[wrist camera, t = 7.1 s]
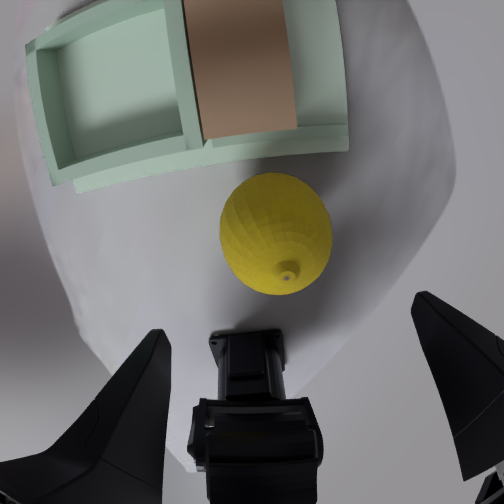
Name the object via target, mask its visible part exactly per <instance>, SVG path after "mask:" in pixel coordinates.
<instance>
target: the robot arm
mask: <svg viewBox="0 0 504 504" xmlns="http://www.w3.org/2000/svg"><path fill="white" fill-rule="evenodd" d="M411 315H412V318H413V321H414V325H415V328H416V330H417V334H418V337H419V340H420V344H421V347H422V350H423V352H424V355H425V357H426V360H427V362H428V365H429V367H430V370H431V372H432V375H433V378H434V380H435V383H436V386H437V388H438V391H439V394H440V397H441V400H442V403H443V406H444V409H445V412H446V415H447V419H448V422H449V425H450V429H451V432H452V436H453V438H454V439H453V440H454V444H455V447H456V451H457V455H458V459H459V464H460V468H461V472H462V477H463V481H466V480H469V479H471V478H473V477H475V476H476V475H479V474H481V473H482V472H484V471H486V470H488V469H490V468H492V467H493V466H495V467H496V470H495V471H494V472H492V473H491V474H490V475H488V476H487V477H486V478H485V480H484V483H483V485H482V488H481V490H480V492H479V494H478V497H477V499H476V501H475V504H504V340H502V339H501V338H500V337H498V336H495V334H494V333H492V332H491V331H489V330H488V329H486V328H485V327H483V326H482V325H480V324H478V323H477V322H475V321H474V320H473V319H471V318H469V317H468V316H466V315H465V314H463V313H462V312H460V311H459V310H457V309H455V308H454V307H452V306H451V305H449V304H447V303H446V302H444V301H443V300H441V299H439V298H438V297H436V296H434V295H433V294H431V293H429V292H428V291H421V292H418V293H416V295H415V298H414V301H413V304H412V307H411ZM209 346H210V348H211V351H212V354H213V356H214V359H215V362H216V364H217V367H218V400H210V399H207V398H200V402H199V405H198V406H195V407H193V415H192V425H191V430H190V435H189V440H188V445H187V452H188V453H189V454H190V455H191V456H192V457H193V458H194V463H196V469H197V471H198V472H206V485H207V498H208V500H209V502H210V504H316V502H317V468H318V467H319V466H320V465H321V462H322V459H323V452H324V449H323V438H322V434H321V431H320V428H319V425H318V423H317V420H316V417H315V415H314V412H313V409H312V407H311V404H310V401H309V399H308V397H302V398H300V399H286V395H285V388H284V381H283V374H282V372H283V371H284V370H285V365H284V348H283V334H282V331H281V330H279V329H275V330H267V331H259V332H251V333H241V334H232V335H221V336H212V337H210V338H209ZM170 393H171V344H170V342H169V340H168V338H167V336H166V334H165V332H164V330H163V329H152V330H151V331H150V332H149V333H148V334H147V335H146V336H145V338H144V339H143V340H142V341H141V342H140V343H139V345H138V346H137V347H136V348H135V349H134V351H133V352H132V353H131V354H130V355H129V357H128V358H127V359H126V360H125V362H124V363H123V364H122V365H121V366H120V368H119V369H118V370H117V371H116V373H115V374H114V375H113V376H112V378H111V379H110V380H109V381H108V382H107V384H106V385H105V386H104V387H103V389H102V390H101V391H100V392H99V393H98V395H97V396H96V397H95V400H93V401H92V402H91V403H90V405H89V406H88V407H87V409H86V410H85V411H84V412H83V413H82V414H81V415H80V417H79V418H78V419H77V420H76V421H75V422H74V423H73V424H72V425H71V426H70V427H69V428H68V429H67V430H66V432H65V433H64V434H63V435H62V436H61V437H60V438H59V439H58V440H57V441H56V442H55V443H54V444H53V445H52V446H51V447H50V448H48V449H47V450H45V451H43V452H41V453H38V454H35V455H31V456H27V457H23V458H18V459H14V460H9V461H4V462H0V504H162V485H163V469H164V454H165V442H166V431H167V420H168V411H169V401H170ZM209 426H214V427H209Z"/></svg>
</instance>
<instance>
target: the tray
mask: <svg viewBox="0 0 504 504" xmlns="http://www.w3.org/2000/svg"><path fill="white" fill-rule="evenodd" d="M282 3H283V9H284V16H285V22H286V29H287V37H288V44H289V52H290V60H291V68H292V77H293V86H294V96H295V107H296V118H297V129H290V130H278V131H267V132H258V133H250V134H242V135H234V136H227V137H220V138H214V139H208V140H204V134H203V128H202V122H201V116H200V110H199V104H198V98H197V91H196V85H195V78H194V72H193V65H192V58H191V51H190V44H189V37H188V30H187V22H186V14H185V7H184V0H98V1H96V2H93V3H91V4H89V5H87V6H85V7H83V8H81V9H79V10H77V11H75V12H73V13H71V14H69V15H67V16H65V17H63V18H61V19H60V20H58V21H56V22H54V23H53V24H51V25H49V26H47V27H46V28H45V33H43V34H42V35H40V36H38V37H37V38H35V39H34V40H32V41H31V42H29V43H28V44H26V45H25V49H26V62H27V72H28V81H29V88H30V95H31V101H32V107H33V112H34V117H35V122H36V127H37V131H38V136H39V140H40V144H41V148H42V152H43V155H44V159H45V163H46V166H47V169H48V173H49V176H50V179H51V182H52V185H53V186H55V185H58V184H61V183H64V182H67V181H70V180H73V183H74V187H75V190H76V193H77V194H80V193H84V192H87V191H91V190H94V189H98V188H102V187H106V186H110V185H114V184H118V183H122V182H126V181H130V180H135V179H139V178H144V177H148V176H153V175H158V174H163V173H168V172H173V171H178V170H183V169H189V168H195V167H201V166H207V165H213V164H219V163H226V162H233V161H241V160H248V159H256V158H265V157H274V156H284V155H295V154H308V153H322V152H341V151H349V138H348V136H349V132H348V111H347V94H346V80H345V69H344V59H343V50H342V41H341V34H340V26H339V20H338V13H337V7H336V1H335V0H282Z"/></svg>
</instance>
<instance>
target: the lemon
mask: <svg viewBox="0 0 504 504" xmlns="http://www.w3.org/2000/svg"><path fill="white" fill-rule="evenodd" d="M332 238H333V237H332V229H331V223H330V218H329V215H328V212H327V210H326V208H325V206H324V204H323V202H322V200H321V198H320V197H319V196H318V195H317V194H316V193H315V191H314V190H313V189H312V188H311V187H310V186H309V185H308V184H306V183H304V182H303V181H301V180H299V179H298V178H296V177H294V176H290V175H287V174H284V173H269V172H268V173H264V174H259V175H255V176H253V177H251V178H249V179H247V180H245V181H244V182H243V183H242V184H241V185H239V186H238V187H237V188H236V189H235V190H234V191H233V192H232V194H231V195H230V197H229V198H228V200H227V201H226V203H225V206H224V209H223V212H222V215H221V219H220V241H221V245H222V249H223V253H224V256H225V259H226V261H227V263H228V264H229V266H230V268H231V269H232V271H233V273H234V274H235V275H236V276H237V277H238V278H239V279H240V280H241V281H242V282H243V283H244V284H245V285H247V286H249V287H250V288H252V289H254V290H256V291H258V292H262V293H265V294H271V295H284V294H291V293H294V292H297V291H300V290H301V289H303V288H305V287H307V286H308V285H310V284H311V283H312V282H313V281H315V280H316V279H317V278H318V277H319V275H320V274H321V273H322V271H323V270H324V269H325V267H326V265H327V262H328V260H329V258H330V254H331V248H332Z"/></svg>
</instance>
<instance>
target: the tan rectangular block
mask: <svg viewBox="0 0 504 504" xmlns="http://www.w3.org/2000/svg"><path fill="white" fill-rule="evenodd" d="M184 7H185V14H186V22H187V30H188V37H189V44H190V51H191V58H192V65H193V72H194V78H195V85H196V91H197V98H198V104H199V110H200V116H201V122H202V128H203V134H204V140H208V139H214V138H220V137H227V136H234V135H242V134H250V133H258V132H267V131H278V130H290V129H297V118H296V107H295V96H294V86H293V77H292V68H291V60H290V52H289V44H288V37H287V29H286V22H285V16H284V9H283V3H282V0H184Z"/></svg>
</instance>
